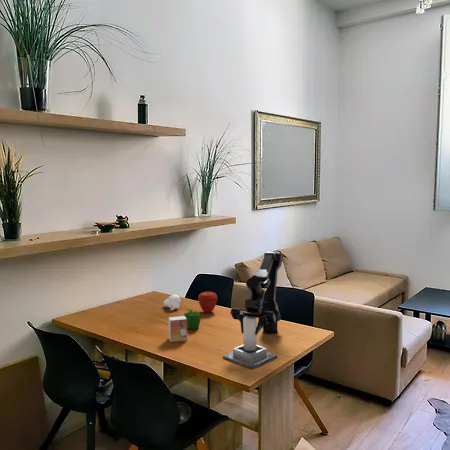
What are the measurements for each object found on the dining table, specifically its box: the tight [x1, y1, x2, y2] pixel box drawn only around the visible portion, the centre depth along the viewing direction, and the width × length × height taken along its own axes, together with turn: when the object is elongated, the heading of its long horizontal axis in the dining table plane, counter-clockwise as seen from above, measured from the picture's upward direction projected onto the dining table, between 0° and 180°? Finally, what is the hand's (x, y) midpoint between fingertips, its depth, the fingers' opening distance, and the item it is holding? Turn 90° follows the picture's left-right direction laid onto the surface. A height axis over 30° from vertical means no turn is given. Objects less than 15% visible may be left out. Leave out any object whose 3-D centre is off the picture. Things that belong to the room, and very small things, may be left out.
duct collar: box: [222, 344, 278, 370], centre depth 183 cm, size 16×16×4 cm
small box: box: [168, 315, 188, 343], centre depth 204 cm, size 8×6×10 cm
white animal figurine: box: [163, 294, 182, 311], centre depth 255 cm, size 6×8×12 cm
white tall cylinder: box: [242, 317, 258, 351], centre depth 182 cm, size 6×6×12 cm
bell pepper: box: [183, 308, 202, 330], centre depth 221 cm, size 8×8×10 cm
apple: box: [197, 291, 218, 314], centre depth 247 cm, size 11×11×12 cm
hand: (249, 333), depth 181 cm, fingers closed on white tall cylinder, 5 cm apart
